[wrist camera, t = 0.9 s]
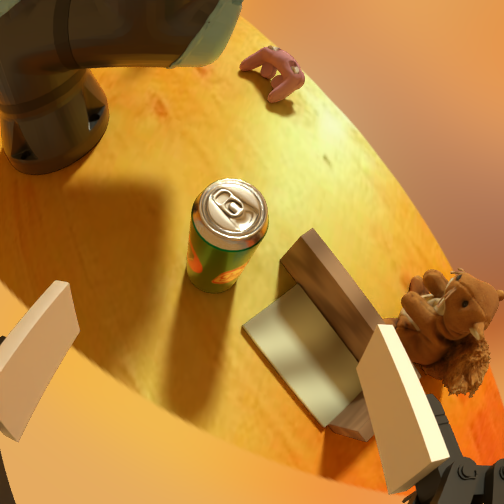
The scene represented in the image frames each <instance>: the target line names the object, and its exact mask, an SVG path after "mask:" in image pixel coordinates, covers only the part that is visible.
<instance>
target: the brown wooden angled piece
mask: <svg viewBox="0 0 504 504" xmlns="http://www.w3.org/2000/svg"><path fill="white" fill-rule="evenodd" d="M280 261H281V263H282V264H283V265H284V267H285V268H286V269H287V270H288V272H289V273H290V274H291V276H292V277H293V278H294V280H295V281H296V282H297V283H298V284H297V285H295V286H294V287H293V288H291V289H290V290H289V291H287V292H286V293H285V294H284V295H282V296H281V297H280V298H278V299H277V300H276V301H274V302H273V303H272V304H270V305H269V306H268V307H266V308H265V309H264V310H262V311H261V312H260V313H258V314H257V315H256V316H254V317H253V318H252V319H250V320H249V321H248V322H246V323H245V324H244V325H242V327H243V328H244V330H245V331H246V332H247V334H248V335H249V336H250V338H251V339H252V340H253V342H254V343H255V344H256V346H257V347H258V348H259V349H260V351H261V352H262V353H263V355H264V356H265V357H266V358H267V360H268V361H269V362H270V363H271V365H272V366H273V367H274V369H275V370H276V371H277V372H278V374H279V375H280V376H281V377H282V379H283V380H284V381H285V382H286V384H287V385H288V386H289V387H290V389H291V390H292V391H293V392H294V394H295V395H296V396H297V397H298V398H299V400H300V401H301V402H302V403H303V404H304V406H305V407H306V408H307V409H308V411H309V412H310V413H311V414H312V415H313V417H314V418H315V419H316V420H317V421H318V422H319V424H320V425H321V426H322V427H326V426H327V425H328V426H329V427H330V428H331V429H332V431H333V432H334V433H337V434H340V435H344V436H347V437H350V438H354V439H357V440H361V441H365V442H367V441H368V440H369V439H370V438H371V437H372V436H373V435H374V431H373V427H372V423H371V419H370V416H369V412H368V408H367V405H366V401H365V397H364V394H363V390H362V387H361V384H360V380H359V377H358V373H357V370H356V367H357V366H358V364H359V362H360V360H361V358H362V356H363V354H364V352H365V350H366V348H367V346H368V343H369V341H370V339H371V337H372V335H373V333H374V331H375V329H376V326H377V324H383V325H386V324H385V322H384V321H383V319H382V318H381V317H380V315H379V314H378V313H377V311H376V310H375V308H374V307H373V306H372V304H371V303H370V302H369V300H368V299H367V297H366V296H365V295H364V293H363V292H362V291H361V289H360V288H359V287H358V285H357V284H356V283H355V281H354V280H353V279H352V277H351V276H350V275H349V273H348V272H347V271H346V269H345V268H344V267H343V266H342V264H341V263H340V262H339V260H338V259H337V258H336V257H335V255H334V254H333V253H332V251H331V250H330V249H329V248H328V246H327V245H326V244H325V243H324V241H323V240H322V239H321V237H320V236H319V235H318V234H317V232H316V231H315V230H314V229H313V228H312V229H310V230H309V231H308V232H306V233H305V234H303V235H302V236H301V237H300V238H299V239H298V240H297V241H296V242H295V243H294V245H293V246H292V247H291V248H290V249H289V250H288V251H287V253H286V254H285V255H284V256H283V257H282V258H281V259H280ZM409 360H410V358H409ZM410 362H411V364H412V366H413V368H414V370H415V373H416V375H417V377H418V379H420V378H421V375H420V373H419V372H418V370H417V369H416V367H415V366H414V364H413V363H412V361H411V360H410Z"/></svg>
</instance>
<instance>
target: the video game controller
mask: <svg viewBox="0 0 504 504" xmlns="http://www.w3.org/2000/svg"><path fill="white" fill-rule="evenodd" d="M261 65H262V68H261V75H262V76H263V77H265V78H268V79H271V78H273V77H274V76H275V74H276V71H277V70H278V71H279V72H280V73H281V75H278V76H275V77H274V78H273V79H272V81H271V85H272V87H273V88H274V90H272V91H271V93H270V94H269V95H268V98H267V100H268V101H269V102H270V103H273V102H278V101H280V100H282V99H284V98H286V97H287V96H289V95H290V94H291V93H292V92H294V91H295V90H297V89H299V88H301V87H302V86H303V84H304V82H305V76H304V73H303V72H302V71H301V68H300V66H299V65H298V63H297V61H296V60H295V59H294V58H293V57H292V56H291V55H290V54H288V53H287V52H285V51H283V50H281V49H279V48H277V47H272V46H268V47H264V48H262V49H260V50H259V51H257V52H256V53H254V54H252V55H251V56H249V57H248V58H246V59H245V60H243V62H242V63H241V64H240V70H242V71H249V70H252V69H254V68H257V67H259V66H261Z"/></svg>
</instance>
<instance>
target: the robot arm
mask: <svg viewBox="0 0 504 504" xmlns="http://www.w3.org/2000/svg"><path fill="white" fill-rule="evenodd" d="M242 2H243V0H0V127H1V137H2V146H3V149H4V152H5V154H6V156H7V157H8V159H9V161H10V163H11V164H12V166H13V167H14V168H16V169H17V170H19V171H20V172H23V173H26V174H45V173H50V172H54V171H57V170H59V169H62V168H64V167H66V166H68V165H70V164H72V163H74V162H75V161H77V160H78V159H80V158H81V157H83V156H84V155H85V154H86V153H88V152H89V151H90V150H91V149H92V148H93V147H94V146H95V145H96V144H97V142H98V141H99V140H100V138H101V137H102V135H103V134H104V132H105V130H106V128H107V125H108V121H109V109H108V103H107V98H106V96H105V93H104V91H103V90H102V88H101V87H100V85H99V84H98V82H97V80H96V79H95V77H94V76H93V74H92V73H91V71H90V69H89V68H103V67H166V68H167V69H170V68H175V67H203V66H206V65H209V64H211V63H213V62H214V61H215V60H217V59H218V57H219V56H220V55H221V53H222V52H223V50H224V49H225V47H226V45H227V43H228V41H229V39H230V37H231V34H232V32H233V30H234V27H235V25H236V22H237V20H238V17H239V14H240V11H241V8H242ZM79 332H80V328H79V325H78V321H77V316H76V312H75V308H74V304H73V299H72V294H71V289H70V284H69V283H68V282H63V281H59V280H55V281H54V282H53V283H52V284H51V285H50V286H49V287H48V289H47V290H46V291H45V292H44V293H43V294H42V295H41V296H40V298H39V299H38V300H37V301H36V302H35V303H34V304H33V306H32V307H31V308H30V309H29V310H28V311H27V313H26V314H25V315H24V316H23V317H22V319H21V320H20V321H19V322H18V323H17V325H16V326H15V327H14V329H13V330H12V331H11V332H10V333H9V335H8V336H7V337H4V336H1V337H0V431H1V432H2V433H3V434H4V435H6V436H7V437H9V438H11V439H13V440H15V441H17V442H19V440H20V438H21V436H22V434H23V432H24V429H25V428H26V426H27V424H28V421H29V420H30V418H31V415H32V414H33V412H34V410H35V408H36V406H37V404H38V402H39V400H40V399H41V397H42V395H43V393H44V391H45V389H46V388H47V386H48V384H49V382H50V380H51V379H52V377H53V375H54V373H55V372H56V370H57V368H58V367H59V365H60V363H61V361H62V360H63V358H64V356H65V355H66V353H67V351H68V350H69V348H70V347H71V345H72V343H73V342H74V340H75V339H76V337H77V335H78V334H79ZM356 370H357V373H358V377H359V380H360V384H361V387H362V390H363V394H364V397H365V401H366V405H367V408H368V412H369V416H370V419H371V423H372V427H373V431H374V434H375V438H376V442H377V446H378V450H379V454H380V458H381V463H382V467H383V471H384V476H385V480H386V484H387V489H388V494H389V495H390V494H395V493H399V492H404V491H407V490H408V489H410V488H411V487H412V486H414V485H415V486H416V491H415V492H413V493H412V494H410V495H409V496H407V497H406V498H404V500H403V501H402V502H403V503H405V502H406V501H408V500H409V499H410V500H409V503H408V504H483V503H484V504H504V459H500V460H498V461H497V462H496V463H495V464H493V465H492V466H482V465H476V463H475V462H474V461H473V460H472V459H470V458H467V457H463V455H462V453H461V451H460V449H459V446H458V443H457V441H456V438H455V436H454V433H453V431H452V429H451V426H450V424H448V423H449V421H448V419H447V417H446V416H445V412H444V410H443V407H442V405H441V403H440V402H439V401H438V400H437V398H436V397H435V396H434V395H433V394H425V393H424V391H423V388H422V386H421V384H420V381H419V379H418V377H417V375H416V373H415V370H414V368H413V366H412V364H411V362H410V360H409V357H408V355H407V353H406V351H405V349H404V347H403V345H402V343H401V341H400V339H399V337H398V335H397V333H396V331H395V329H394V327H393V325H383V324H377V326H376V329H375V331H374V333H373V335H372V337H371V339H370V341H369V343H368V346H367V348H366V350H365V352H364V354H363V356H362V358H361V360H360V362H359V364H358V366H357V367H356ZM0 504H16V503H15V500H14V498H13V494H12V492H11V488H10V485H9V482H8V478H7V475H6V471H5V468H4V464H3V460H2V456H1V451H0Z"/></svg>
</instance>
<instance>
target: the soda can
mask: <svg viewBox="0 0 504 504" xmlns="http://www.w3.org/2000/svg"><path fill="white" fill-rule="evenodd" d="M268 225H269V215H268V211H267V204H266V201H265V199H264V197H263V196H262V194H261V193H260V192H259V191H258V190H257V189H256V188H255V187H254V186H252V185H251V184H249V183H247V182H245V181H242V180H238V179H222V180H219V181H216V182H214V183H212V184H210V185H209V186H208V187H207V188H206V189H205V190H204V191H202V192H201V193H200V194H199V195H198V197H197V198H196V200H195V202H194V204H193V207H192V212H191V221H190V231H189V241H188V252H187V263H186V269H187V274H188V277H189V279H190V281H191V282H192V283H193V284H194V285H195V286H196V287H197V288H198V289H200V290H202V291H204V292H208V293H220V292H223V291H226V290H228V289H229V288H231V287H232V286H233V285H234V283H235V282H236V280H237V279H238V277H239V276H240V274H241V273H242V271H243V269H244V268H245V266H246V265H247V263H248V262H249V260H250V258H251V257H252V255H253V254H254V252H255V251H256V249H257V247H258V246H259V244H260V243H261V241H262V239H263V238H264V236H265V234H266V232H267V229H268Z"/></svg>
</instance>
